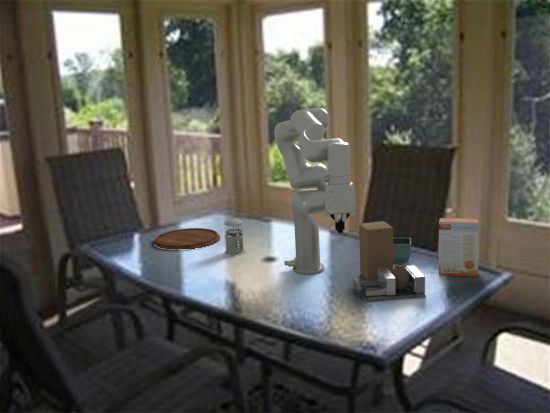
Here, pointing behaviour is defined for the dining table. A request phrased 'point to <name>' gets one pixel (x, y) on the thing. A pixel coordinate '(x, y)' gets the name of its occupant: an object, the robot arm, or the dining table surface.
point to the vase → (401, 277)
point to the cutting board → (187, 238)
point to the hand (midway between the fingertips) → (340, 231)
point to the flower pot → (401, 250)
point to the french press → (234, 237)
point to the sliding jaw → (384, 281)
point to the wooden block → (375, 248)
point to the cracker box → (458, 247)
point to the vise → (413, 290)
